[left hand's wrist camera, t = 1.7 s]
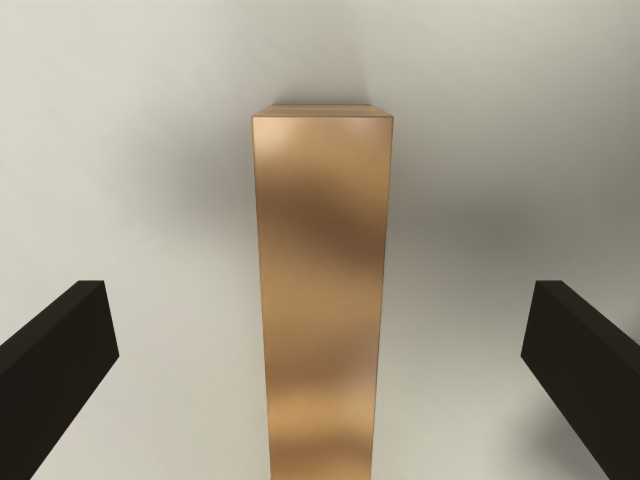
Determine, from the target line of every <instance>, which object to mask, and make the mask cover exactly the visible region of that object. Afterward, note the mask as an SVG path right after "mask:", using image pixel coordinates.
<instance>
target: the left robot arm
mask: <svg viewBox="0 0 640 480" xmlns="http://www.w3.org/2000/svg"><path fill="white" fill-rule="evenodd" d="M118 358H119V351H118V346H117V342H116V337H115V332H114V327H113V322H112V317H111V313H110V308H109V303H108V298H107V293H106V288H105V283H104V281H77V282H76V283H75V284H74V285H73V286H71V287H70V288H69V289H68V290H67V291H65V292H64V293H63V294H62V295H61V296H59V297H58V298H57V299H56V300H55V301H53V302H52V303H51V304H50V305H49V306H47V307H46V308H45V309H44V310H43V311H41V312H40V313H39V314H38V315H37V316H35V317H34V318H33V319H32V320H31V321H29V322H28V323H27V324H26V325H25V326H23V327H22V328H21V329H20V330H19V331H17V332H16V333H15V334H14V335H13V336H11V337H10V338H9V339H8V340H7V341H5V342H4V343H3V344H2V345H1V346H0V480H30V479H31V478H32V476H33V475H34V474H35V472H36V471H37V469H38V468H39V467H40V465H41V464H42V463H43V461H44V460H45V458H46V457H47V456H48V454H49V453H50V451H51V450H52V449H53V447H54V446H55V445H56V443H57V442H58V440H59V439H60V438H61V436H62V435H63V434H64V432H65V431H66V429H67V428H68V427H69V425H70V424H71V422H72V421H73V420H74V418H75V417H76V416H77V414H78V413H79V411H80V410H81V409H82V407H83V406H84V405H85V403H86V402H87V400H88V399H89V398H90V396H91V395H92V393H93V392H94V391H95V389H96V388H97V387H98V385H99V384H100V382H101V381H102V380H103V378H104V377H105V376H106V374H107V373H108V371H109V370H110V369H111V367H112V366H113V365H114V363H115V362H116V360H117V359H118ZM521 358H522V359H523V360H524V362H525V363H526V365H527V366H528V367H529V369H530V370H531V371H532V373H533V374H534V376H535V377H536V378H537V380H538V381H539V382H540V384H541V385H542V387H543V388H544V389H545V391H546V392H547V393H548V395H549V396H550V398H551V399H552V400H553V402H554V403H555V405H556V406H557V407H558V409H559V410H560V411H561V413H562V414H563V416H564V417H565V418H566V420H567V421H568V422H569V424H570V425H571V427H572V428H573V429H574V431H575V432H576V434H577V435H578V436H579V438H580V439H581V440H582V442H583V443H584V445H585V446H586V447H587V449H588V450H589V451H590V453H591V454H592V456H593V457H594V458H595V460H596V461H597V463H598V464H599V465H600V467H601V468H602V469H603V471H604V472H605V474H606V475H607V476H608V478H609V479H610V480H640V346H639V345H638V344H637V343H636V342H635V341H633V340H632V339H631V338H630V337H629V336H627V335H626V334H625V333H624V332H623V331H621V330H620V329H619V328H618V327H617V326H615V325H614V324H613V323H612V322H611V321H609V320H608V319H607V318H606V317H605V316H603V315H602V314H601V313H600V312H599V311H597V310H596V309H595V308H594V307H593V306H591V305H590V304H589V303H588V302H587V301H585V300H584V299H583V298H582V297H581V296H579V295H578V294H577V293H576V292H575V291H573V290H572V289H571V288H570V287H569V286H567V285H566V284H565V283H564V282H563V281H536V283H535V288H534V293H533V298H532V303H531V308H530V312H529V317H528V322H527V327H526V332H525V337H524V342H523V346H522V351H521Z"/></svg>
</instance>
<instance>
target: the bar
mask: <svg viewBox="0 0 640 480" xmlns="http://www.w3.org/2000/svg"><path fill="white" fill-rule="evenodd" d="M392 133H393V116H391V115H389V114H387V113H385V112H383V111H381V110H379V109H377V108H375V107H373V106H371V105H271V106H269V107H268V108H266V109H264V110H262V111H260V112H259V113H257V114H255V115H253V116H252V135H253V153H254V172H255V190H256V209H257V227H258V246H259V265H260V283H261V302H262V320H263V339H264V357H265V376H266V394H267V413H268V432H269V450H270V469H271V480H370V479H371V463H372V447H373V431H374V416H375V400H376V384H377V369H378V353H379V337H380V321H381V306H382V290H383V274H384V259H385V243H386V227H387V211H388V196H389V180H390V164H391V148H392Z"/></svg>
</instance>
